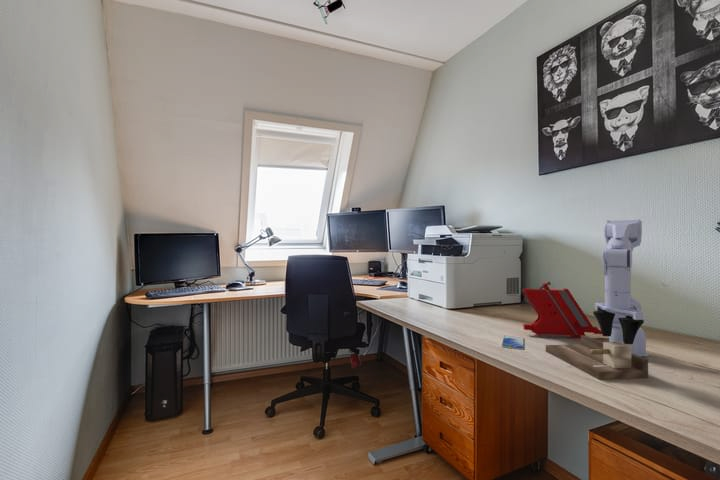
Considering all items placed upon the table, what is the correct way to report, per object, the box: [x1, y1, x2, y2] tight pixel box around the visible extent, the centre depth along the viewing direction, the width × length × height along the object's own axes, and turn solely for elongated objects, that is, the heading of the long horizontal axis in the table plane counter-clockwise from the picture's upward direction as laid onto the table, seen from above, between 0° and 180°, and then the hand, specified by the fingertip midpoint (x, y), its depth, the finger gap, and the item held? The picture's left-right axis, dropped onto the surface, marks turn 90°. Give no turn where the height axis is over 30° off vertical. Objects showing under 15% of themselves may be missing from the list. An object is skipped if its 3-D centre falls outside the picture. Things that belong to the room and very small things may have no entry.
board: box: [545, 334, 649, 380], centre depth 107 cm, size 14×24×5 cm, turn 4°
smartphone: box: [501, 335, 525, 351], centre depth 128 cm, size 7×1×15 cm
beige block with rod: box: [590, 341, 631, 368], centre depth 98 cm, size 10×4×6 cm, turn 94°
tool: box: [522, 281, 602, 339], centre depth 137 cm, size 27×6×27 cm, turn 86°
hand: (617, 339), depth 99 cm, fingers open, 7 cm apart
